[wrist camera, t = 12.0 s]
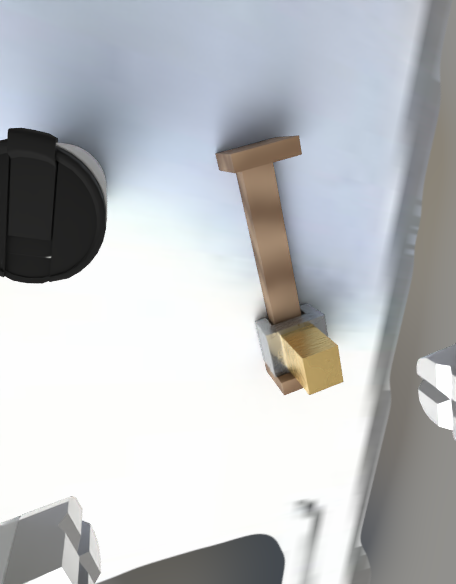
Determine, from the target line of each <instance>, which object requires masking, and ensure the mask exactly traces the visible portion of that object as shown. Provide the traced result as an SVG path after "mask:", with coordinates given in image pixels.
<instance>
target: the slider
mask: <svg viewBox="0 0 456 584" xmlns="http://www.w3.org/2000/svg"><path fill="white" fill-rule="evenodd" d="M300 311H301V316H298V317H295V318H292V319H290V320H287V321H284V322H281V323H278V324H276V325H273V326H272V325H271V323H270V322H269V321H268V320H267V319H266V318H264V319H261V320H258V321H255V324H256V329H257V333H258V337H259V341H260V346H261V350H262V354H263V358H264V361H265V363H266V364H267V365H268V367H269V368H270V371H271V372H272V373H273V375H274V376H275V377H278V376H281V375H283V374H286V373H289V372H291V373H292V375H293V376H294V377H295V378H296V379H297V381H298V382H299V383H300V384H301V385H302V387H303V388H304V389H305V390H306V391H307V393H308V394H309V395H311V394H314V393H316V392H319V391H321V390H324V389H326V388H329V387H331V386H334V385H336V384H339V383H341V382H343V376H342V370H341V363H340V357H339V350H338V345H337V344H335V343H334V342H333V341H332V340H331V339H330V338H328V334H327V328H326V322H325V316H324V314H323V313H321V312H320V311H319V310H316V309H315V308H313V307H312V306H311V305H309V304H308V303H306V304H303V305H301V306H300Z"/></svg>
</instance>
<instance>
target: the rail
mask: <svg viewBox="0 0 456 584" xmlns="http://www.w3.org/2000/svg"><path fill="white" fill-rule="evenodd" d="M301 154H302V152H301V146H300V140H299V136H286V137H275V138H271V139H268V140H264V141H260V142H256V143H253V144H249V145H245V146H242V147H238V148H234V149H231V150H227V151H223V152H220V153H216V158H217V162H218V167H219V170H220V171H226V172H231V173H236V175H237V179H238V184H239V188H240V193H241V198H242V202H243V207H244V211H245V216H246V220H247V225H248V229H249V234H250V238H251V243H252V247H253V252H254V256H255V261H256V265H257V270H258V274H259V279H260V283H261V288H262V292H263V297H264V301H265V306H266V310H267V315H268V319H269V322H270V323H271V325H272V326H273V325H276V324H278V323H281V322H284V321H287V320H290V319H292V318H295V317H298V316H301V311H300V306H299V300H298V295H297V289H296V284H295V279H294V273H293V268H292V262H291V257H290V252H289V246H288V241H287V236H286V230H285V225H284V219H283V214H282V209H281V203H280V198H279V192H278V187H277V182H276V176H275V171H274V166H273V162H276V161H280V160H283V159H287V158H291V157H294V156H298V155H301ZM265 366H266V370H267V372H268V373H269V375H270V376H271V378H272V379H273V380H274V382H275V383H276V384H277V386H278V387H279V389H280V390H281V391H282V393H283V394H284V395H286V394H289V393H291V392H294V391H297V390H299V389H302V388H303V387H302V385H301V384H300V383H299V382H298V381H297V379H296V378H295V377H294V376H293V375H292V373H291V372H289V373H286V374H283V375H281V376H278V377H275V376H274V375H273V373H272V372H271V371H270V368H269V367H268V365H267V364H266V363H265Z"/></svg>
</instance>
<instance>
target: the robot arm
mask: <svg viewBox="0 0 456 584" xmlns="http://www.w3.org/2000/svg"><path fill="white" fill-rule="evenodd" d="M417 374H418V375H419V376H420V377H421V378H423V381H422V382H421V385H420V386H419V388H418V392H419V400H420V403H421V405H422V407H423V409H424V411H425V413H426V414H427V415H428V416H429V418H430V419H431V420H432V421H433V422H435V423H436V424H437V425H438V426H440V427H444V428H447V429H451V430H452V432H453V437H454V439H455V440H456V343H455V344H454V345H452V346H449V347H447V348H444V349H442V350H439V351H437V352H434V353H432V354H429V355H427V356H424V357H422V358H419V360H418V363H417ZM100 573H101V558H100V552H99V546H98V541H97V538H96V535H95V532H94V530H93V528H92V526H91V524H89V523H87V522H84V521H82V507H81V505H80V504H79V502H78V500H77V499H76V497H72V496H71V497H68V498H66V499H63V500H60V501H57V502H55V503H52V504H49V505H47V506H44V507H41V508H39V509H36V510H33V511H31V512H28V513H25V514H23V515H22V516H18V517H16V518H13V519H10V520H8V521H5V522H2V523H0V584H95V582H96V580H97V578H98V577H99V575H100Z"/></svg>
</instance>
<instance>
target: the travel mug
mask: <svg viewBox="0 0 456 584" xmlns="http://www.w3.org/2000/svg"><path fill="white" fill-rule="evenodd" d="M57 142H58V138H56V137H54V136H53V135H51V134H49V133H44V132H40V131H36V130H31V129H25V128H10V129H8V139H5V140H0V276H2V277H4V276H6V277H7V278H9V279H11V280H13V281H18V282H24V283H44V282H47V281H49V282H52V281H57V280H62V279H67V278H70V277H71V276H73V275H75V274H77V273H78V272H80V271H81V270H82V269H84V268H85V267H86V266H87V265H88V264H89V263H90V262H91V261H92V260H93V258H94V257H95V256H96V254H97V253H98V251H99V249H100V247H101V245H102V242H103V239H104V235H105V230H106V221H107V191H106V179H105V175H104V172H103V169H102V167H101V166H100V164H99V163H98V161H97V160H96V159H95V158H94V157H93V156H92V155H91V154H90V153H89V152H87V151H86V150H84V149H82V148H80V147H78V146H75V145H71V144H65V143H57Z"/></svg>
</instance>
